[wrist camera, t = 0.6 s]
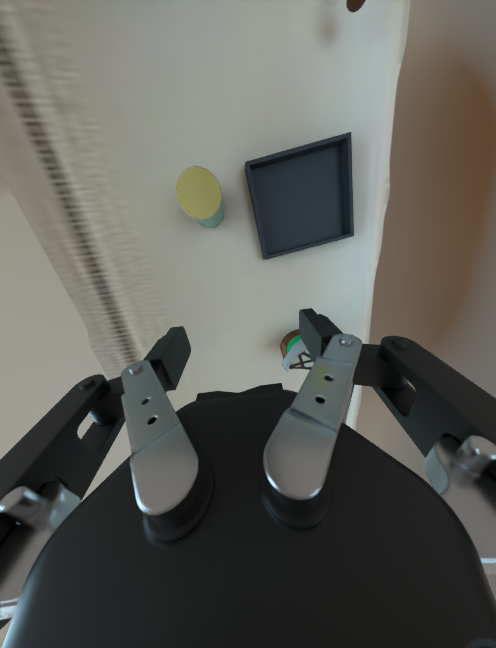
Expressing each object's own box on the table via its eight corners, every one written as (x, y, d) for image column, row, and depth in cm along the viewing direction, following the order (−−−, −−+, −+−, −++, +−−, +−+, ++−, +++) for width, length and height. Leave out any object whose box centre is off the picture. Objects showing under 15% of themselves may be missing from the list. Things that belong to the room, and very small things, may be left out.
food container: (328, 325, 43) (353, 344, 33) (322, 348, 45) (345, 372, 36) (277, 323, 42) (289, 343, 32) (274, 347, 44) (284, 371, 35)
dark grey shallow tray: (244, 168, 31) (245, 161, 29) (342, 141, 31) (351, 131, 28) (263, 259, 36) (265, 259, 34) (346, 237, 36) (354, 235, 34)
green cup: (188, 197, 32) (169, 173, 23) (219, 188, 32) (213, 160, 22) (199, 232, 34) (185, 223, 25) (229, 224, 34) (226, 212, 25)
